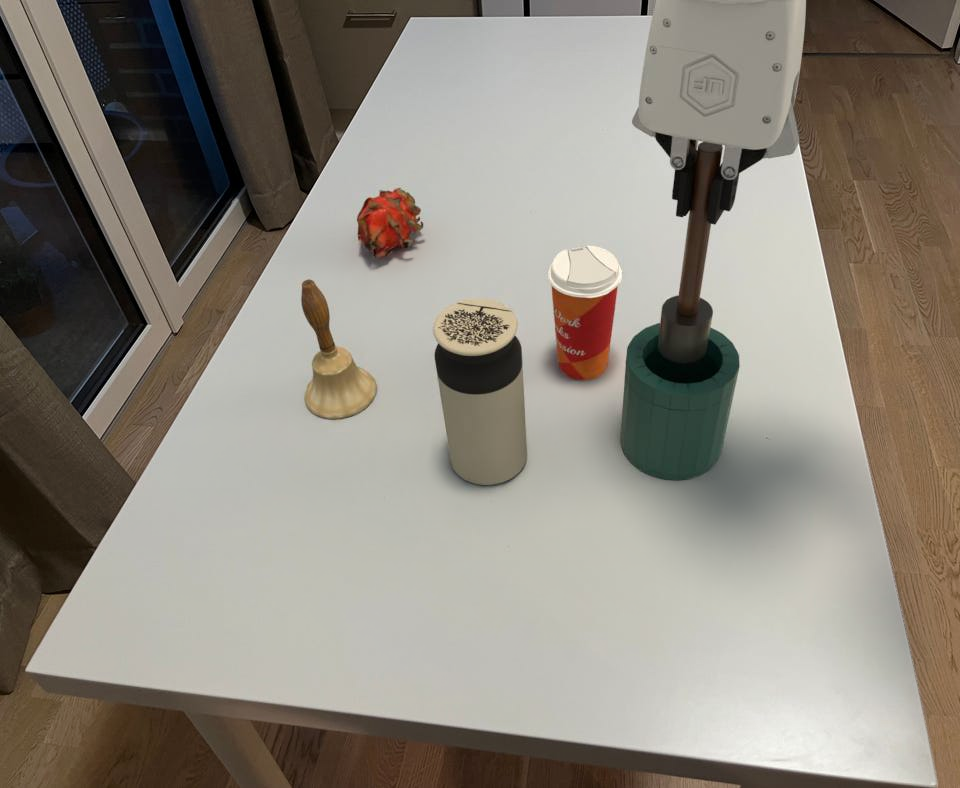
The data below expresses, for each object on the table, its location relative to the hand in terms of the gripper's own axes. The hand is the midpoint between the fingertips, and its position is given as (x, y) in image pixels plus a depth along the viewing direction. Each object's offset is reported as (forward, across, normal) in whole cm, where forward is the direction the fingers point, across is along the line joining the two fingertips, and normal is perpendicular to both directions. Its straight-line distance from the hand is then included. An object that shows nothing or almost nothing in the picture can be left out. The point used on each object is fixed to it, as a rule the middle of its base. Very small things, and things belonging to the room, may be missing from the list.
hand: (701, 210), depth 63 cm
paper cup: (+28, -13, +7) cm, 31 cm away
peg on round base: (+15, 0, 0) cm, 15 cm away
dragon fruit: (+28, -47, +18) cm, 57 cm away
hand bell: (+28, -36, -9) cm, 46 cm away
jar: (+28, 0, 0) cm, 28 cm away
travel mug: (+28, -16, -10) cm, 33 cm away
